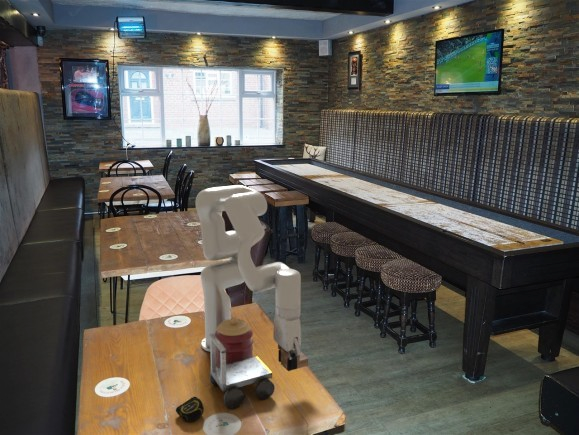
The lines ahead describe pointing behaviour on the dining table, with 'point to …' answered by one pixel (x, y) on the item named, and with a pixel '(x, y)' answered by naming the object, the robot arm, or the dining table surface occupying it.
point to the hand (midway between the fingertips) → (287, 364)
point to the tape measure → (190, 409)
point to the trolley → (238, 376)
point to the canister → (234, 340)
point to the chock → (301, 359)
